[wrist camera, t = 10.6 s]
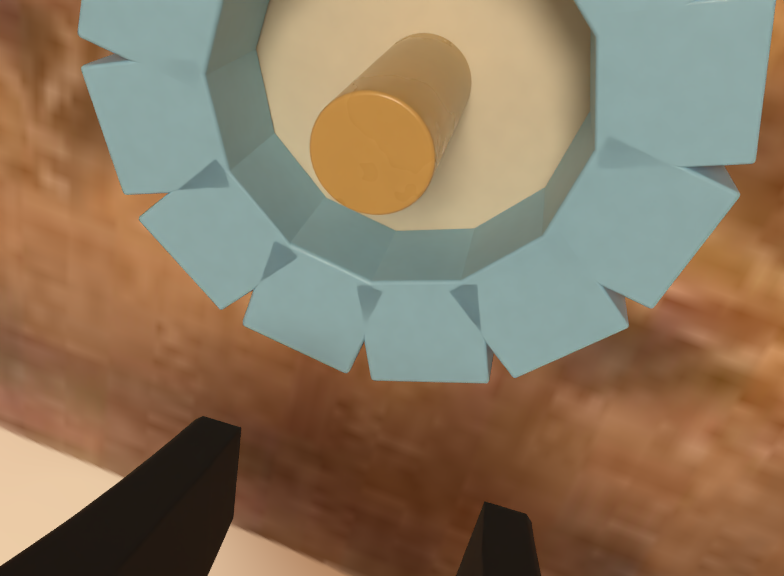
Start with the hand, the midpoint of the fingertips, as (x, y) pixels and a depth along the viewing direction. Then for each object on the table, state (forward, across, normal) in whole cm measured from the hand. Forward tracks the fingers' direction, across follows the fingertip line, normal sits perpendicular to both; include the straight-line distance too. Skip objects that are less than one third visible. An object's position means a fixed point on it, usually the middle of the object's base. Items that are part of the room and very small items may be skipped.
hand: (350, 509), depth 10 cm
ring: (+8, +1, -4) cm, 9 cm away
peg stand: (+9, +1, -4) cm, 10 cm away
